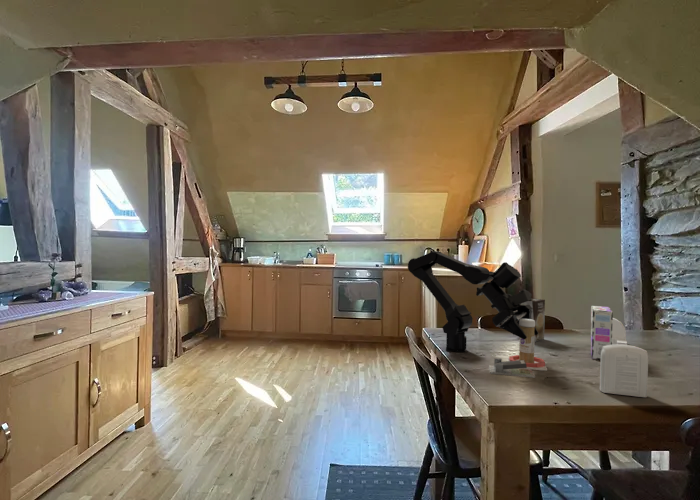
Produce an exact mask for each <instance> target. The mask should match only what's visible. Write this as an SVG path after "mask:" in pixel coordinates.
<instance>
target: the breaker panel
mask: <svg viewBox="0 0 700 500" xmlns="http://www.w3.org/2000/svg"><path fill="white" fill-rule="evenodd" d="M493 359H494V360H493V362H494V363H493V365H490V364H489V365H488V369H489V370H488V371H489V374H491V375H500V376H512V377H521V378H523V377H525V378H533V379H535V378H536V375H535V373H534V371H533V369H526V368H518V369H504V370H503V364H500V363H499V362H503V361H502V358H499V357H494V358H493Z"/></svg>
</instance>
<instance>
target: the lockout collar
mask: <svg viewBox="0 0 700 500" xmlns="http://www.w3.org/2000/svg"><path fill="white" fill-rule="evenodd" d="M507 359H508V361H518V360H519V354H516V355H509V356H508V357H507ZM526 366H527V368H526V369H532V371H533V370H535V371H548V368H547V366H546V361H545V360H544V359H543V358H540V357H537V356H534V363H526Z"/></svg>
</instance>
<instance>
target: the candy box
mask: <svg viewBox="0 0 700 500" xmlns="http://www.w3.org/2000/svg"><path fill="white" fill-rule="evenodd" d="M613 316H614V314H613V310H612V309H611V308H610V306H600V305H591V307H590V355H591V359H593V360H598V361H599V360H600V361H601V350H602V347H603V346H607V345H612V321H613V318H614V317H613Z"/></svg>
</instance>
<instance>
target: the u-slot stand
mask: <svg viewBox="0 0 700 500" xmlns="http://www.w3.org/2000/svg"><path fill="white" fill-rule="evenodd" d="M626 336H627V332H626V328H625V326H624V324H623V323H622V321H620V320H618V319H617V318H615V317H613V321H612V345H614V344H623V345H628V341H627V337H626Z"/></svg>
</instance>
